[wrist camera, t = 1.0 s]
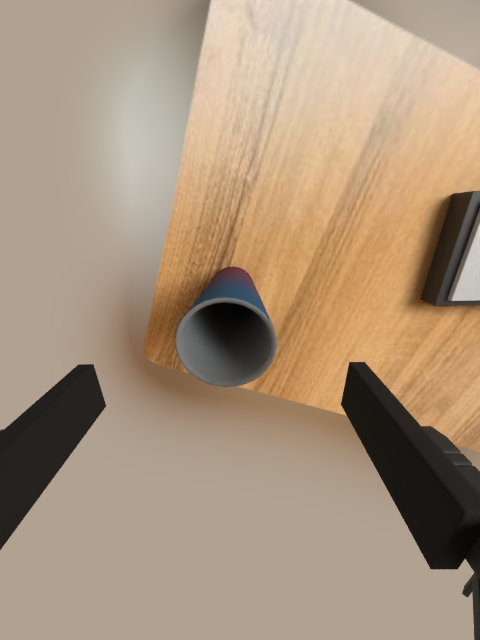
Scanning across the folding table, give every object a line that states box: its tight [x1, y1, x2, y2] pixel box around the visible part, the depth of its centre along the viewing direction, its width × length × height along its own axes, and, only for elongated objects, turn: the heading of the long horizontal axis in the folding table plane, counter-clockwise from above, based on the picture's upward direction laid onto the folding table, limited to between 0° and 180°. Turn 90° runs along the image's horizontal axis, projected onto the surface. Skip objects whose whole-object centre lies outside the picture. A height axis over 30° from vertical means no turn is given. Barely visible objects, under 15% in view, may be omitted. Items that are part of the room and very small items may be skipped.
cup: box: [175, 267, 277, 387], centre depth 22 cm, size 7×7×15 cm
